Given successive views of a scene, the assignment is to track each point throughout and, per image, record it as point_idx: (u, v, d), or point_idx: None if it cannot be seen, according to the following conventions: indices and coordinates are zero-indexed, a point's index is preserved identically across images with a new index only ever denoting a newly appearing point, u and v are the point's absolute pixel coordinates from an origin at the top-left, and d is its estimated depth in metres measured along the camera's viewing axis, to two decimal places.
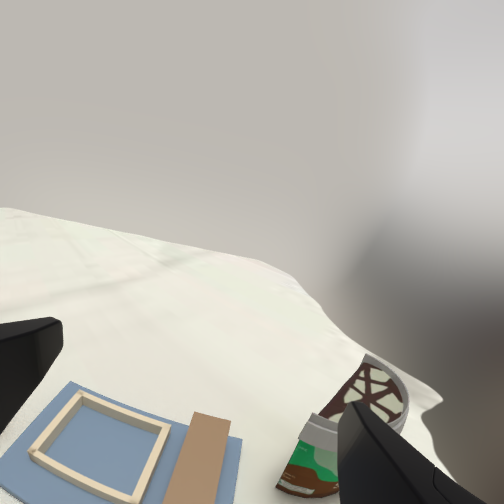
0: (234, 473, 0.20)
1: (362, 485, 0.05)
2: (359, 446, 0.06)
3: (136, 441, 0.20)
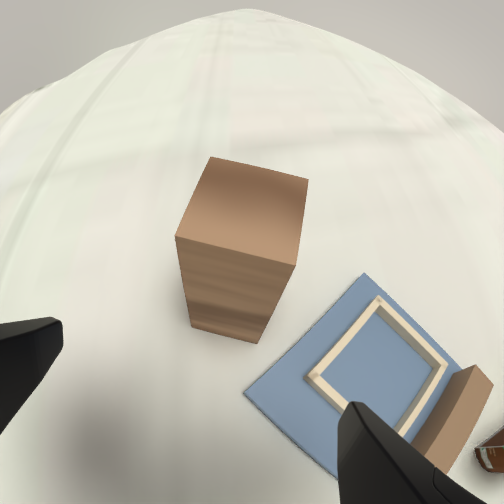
0: None
1: (362, 485, 0.05)
2: (359, 446, 0.06)
3: (411, 370, 0.21)
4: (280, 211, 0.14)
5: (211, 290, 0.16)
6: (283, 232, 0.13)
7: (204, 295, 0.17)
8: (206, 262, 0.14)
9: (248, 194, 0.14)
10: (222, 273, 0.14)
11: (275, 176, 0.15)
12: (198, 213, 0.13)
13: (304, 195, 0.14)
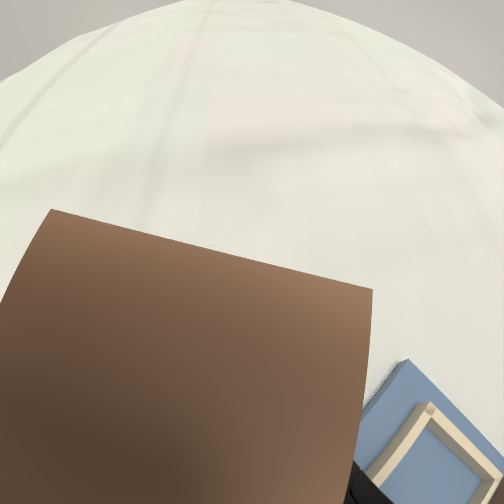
0: None
1: None
2: None
3: (456, 490, 0.10)
4: (262, 466, 0.03)
5: None
6: None
7: None
8: None
9: (137, 383, 0.03)
10: None
11: (255, 285, 0.04)
12: None
13: (360, 370, 0.03)
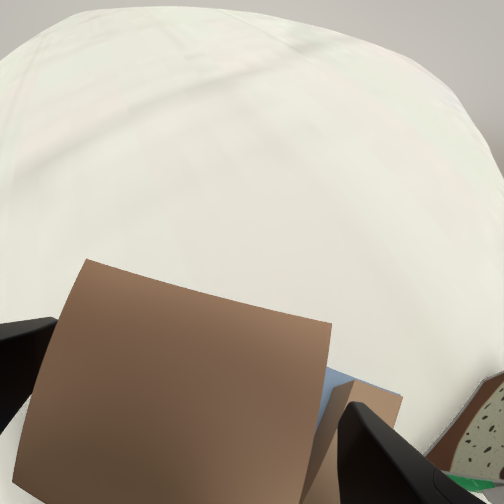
0: None
1: (362, 485, 0.05)
2: (359, 446, 0.06)
3: None
4: (248, 446, 0.04)
5: None
6: None
7: None
8: None
9: (164, 390, 0.05)
10: None
11: (244, 322, 0.05)
12: (46, 439, 0.04)
13: (318, 382, 0.05)
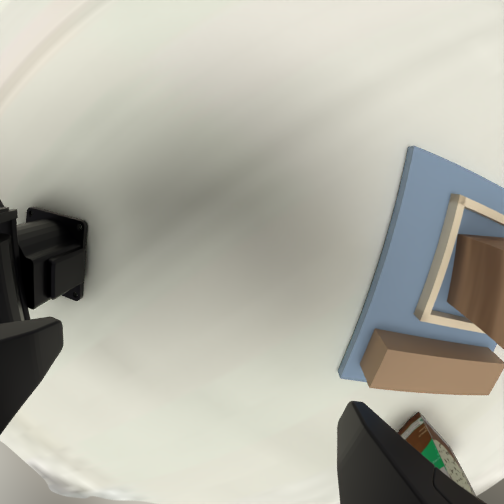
0: None
1: (362, 485, 0.05)
2: (359, 446, 0.06)
3: None
4: None
5: None
6: None
7: None
8: None
9: None
10: None
11: None
12: None
13: None
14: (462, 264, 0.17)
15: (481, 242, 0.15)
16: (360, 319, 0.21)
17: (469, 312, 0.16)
